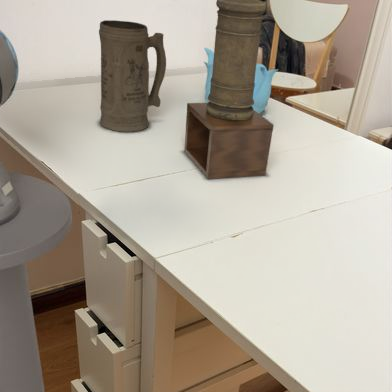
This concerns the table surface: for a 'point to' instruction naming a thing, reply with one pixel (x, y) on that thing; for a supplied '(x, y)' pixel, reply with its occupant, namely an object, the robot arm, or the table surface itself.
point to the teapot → (261, 82)
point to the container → (235, 59)
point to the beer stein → (128, 74)
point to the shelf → (227, 143)
